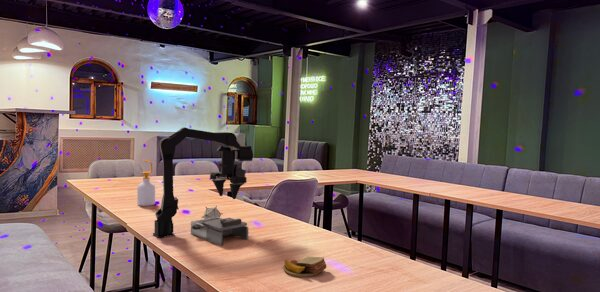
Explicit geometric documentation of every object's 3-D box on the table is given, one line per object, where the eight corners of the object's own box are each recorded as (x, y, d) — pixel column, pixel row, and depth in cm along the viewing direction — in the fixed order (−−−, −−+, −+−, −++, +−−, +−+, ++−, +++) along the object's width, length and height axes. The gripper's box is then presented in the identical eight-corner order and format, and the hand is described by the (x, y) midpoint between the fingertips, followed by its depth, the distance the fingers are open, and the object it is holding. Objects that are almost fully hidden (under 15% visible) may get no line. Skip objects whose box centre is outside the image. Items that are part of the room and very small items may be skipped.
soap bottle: (136, 203, 231) (136, 159, 229) (154, 202, 235) (154, 158, 233) (138, 206, 223) (137, 160, 221) (155, 205, 227) (156, 160, 225)
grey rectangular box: (216, 246, 156) (216, 233, 156) (186, 234, 172) (186, 222, 171) (252, 238, 168) (252, 225, 168) (221, 227, 184) (221, 216, 183)
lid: (219, 231, 158) (219, 223, 158) (202, 224, 166) (202, 217, 166) (246, 225, 167) (247, 218, 167) (229, 219, 176) (229, 213, 175)
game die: (207, 232, 189) (194, 215, 188) (218, 222, 196) (206, 205, 195) (218, 226, 184) (205, 208, 183) (229, 215, 191) (216, 198, 190)
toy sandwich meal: (301, 261, 143) (301, 248, 143) (332, 272, 134) (332, 257, 133) (274, 271, 134) (275, 256, 133) (306, 282, 125) (306, 267, 124)
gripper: (256, 162, 178) (256, 198, 179) (230, 158, 191) (229, 192, 192) (236, 163, 170) (235, 201, 171) (209, 160, 183) (209, 195, 184)
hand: (227, 197), depth 180 cm, fingers open, 9 cm apart
